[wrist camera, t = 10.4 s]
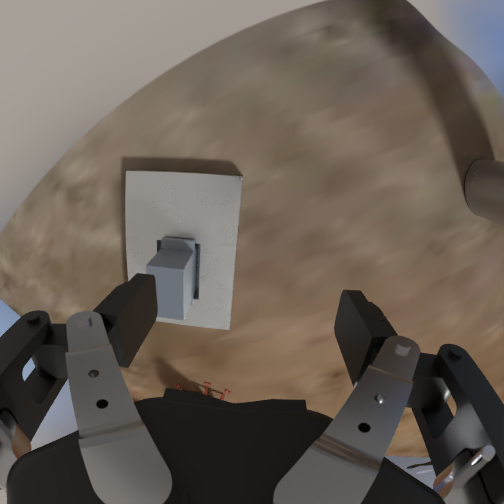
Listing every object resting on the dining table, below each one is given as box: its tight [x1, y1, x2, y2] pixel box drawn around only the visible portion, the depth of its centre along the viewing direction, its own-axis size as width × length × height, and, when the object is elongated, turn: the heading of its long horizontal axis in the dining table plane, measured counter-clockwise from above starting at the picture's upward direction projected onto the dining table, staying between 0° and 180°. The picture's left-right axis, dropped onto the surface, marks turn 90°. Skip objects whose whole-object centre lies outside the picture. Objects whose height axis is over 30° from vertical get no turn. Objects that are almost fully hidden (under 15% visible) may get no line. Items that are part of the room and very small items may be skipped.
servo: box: [146, 237, 198, 320], centre depth 32 cm, size 4×8×8 cm, turn 174°
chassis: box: [125, 170, 243, 330], centre depth 35 cm, size 14×20×2 cm
